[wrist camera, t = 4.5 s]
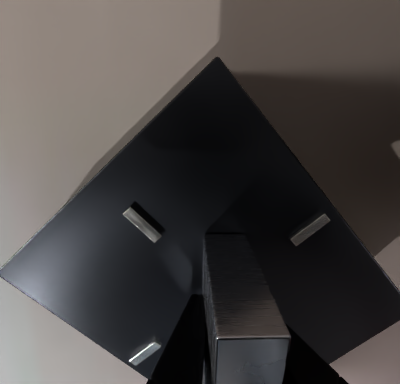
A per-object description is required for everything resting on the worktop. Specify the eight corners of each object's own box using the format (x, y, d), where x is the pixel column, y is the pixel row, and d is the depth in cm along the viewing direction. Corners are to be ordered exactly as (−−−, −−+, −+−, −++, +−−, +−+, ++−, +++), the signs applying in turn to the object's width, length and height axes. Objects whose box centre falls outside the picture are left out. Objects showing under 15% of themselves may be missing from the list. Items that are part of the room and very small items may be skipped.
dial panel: (208, 70, 10) (218, 53, 7) (364, 265, 13) (419, 314, 10) (42, 232, 11) (-10, 276, 8) (215, 368, 14) (222, 435, 12)
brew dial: (203, 233, 8) (217, 350, 4) (245, 233, 8) (298, 348, 4) (200, 347, 10) (208, 510, 6) (235, 346, 10) (267, 508, 6)
